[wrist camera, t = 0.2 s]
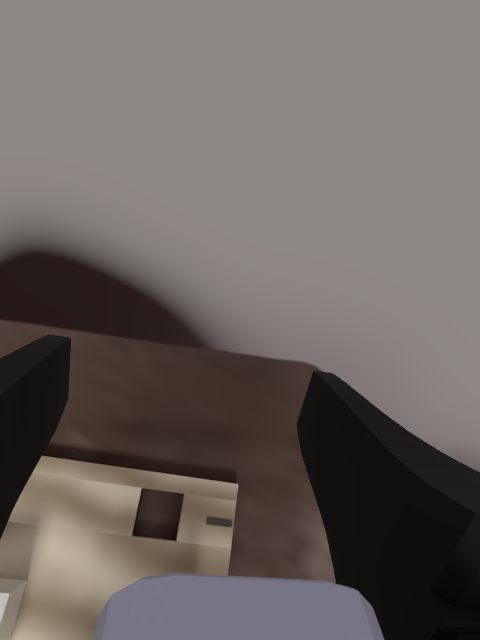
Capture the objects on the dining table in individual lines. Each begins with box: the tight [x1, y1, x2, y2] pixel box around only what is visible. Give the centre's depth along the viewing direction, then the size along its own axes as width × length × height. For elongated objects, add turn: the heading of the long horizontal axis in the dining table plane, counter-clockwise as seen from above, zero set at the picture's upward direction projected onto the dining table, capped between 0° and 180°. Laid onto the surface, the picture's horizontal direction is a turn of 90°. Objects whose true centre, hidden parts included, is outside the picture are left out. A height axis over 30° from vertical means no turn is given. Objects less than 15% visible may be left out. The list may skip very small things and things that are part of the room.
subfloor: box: [0, 456, 238, 640], centre depth 35 cm, size 19×26×1 cm
